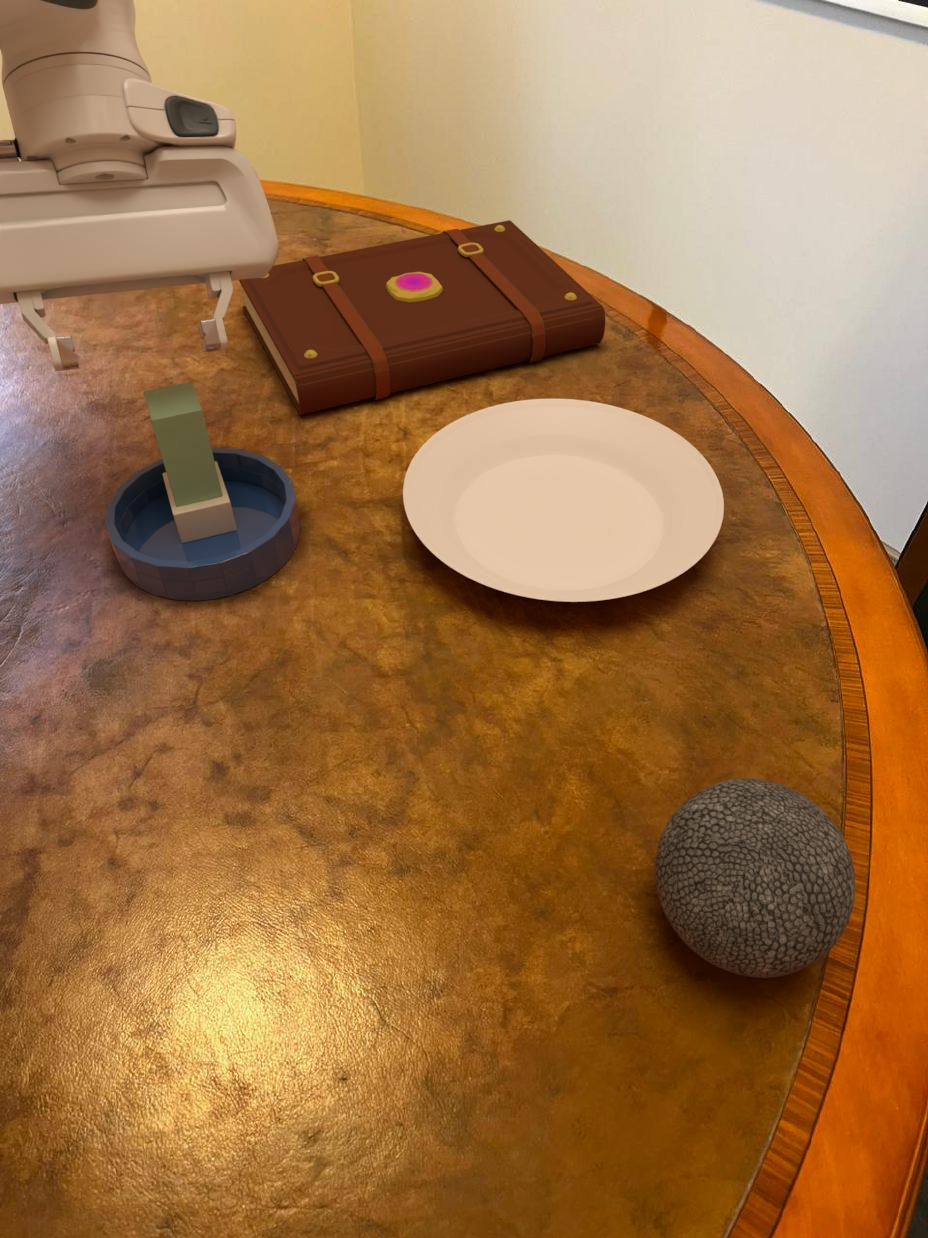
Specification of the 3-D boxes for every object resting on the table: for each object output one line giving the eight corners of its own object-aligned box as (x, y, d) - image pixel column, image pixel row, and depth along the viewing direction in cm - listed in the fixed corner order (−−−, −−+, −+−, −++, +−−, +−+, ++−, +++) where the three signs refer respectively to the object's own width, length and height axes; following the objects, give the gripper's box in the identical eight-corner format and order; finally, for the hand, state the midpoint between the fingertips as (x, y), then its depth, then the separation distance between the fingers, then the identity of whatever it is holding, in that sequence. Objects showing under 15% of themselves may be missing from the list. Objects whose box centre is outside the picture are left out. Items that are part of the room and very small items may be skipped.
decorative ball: (700, 810, 57) (733, 710, 50) (854, 908, 53) (916, 814, 45) (608, 928, 52) (631, 836, 45) (771, 1049, 47) (826, 968, 40)
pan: (150, 627, 68) (138, 593, 65) (96, 517, 76) (83, 483, 74) (329, 558, 73) (324, 524, 70) (260, 462, 81) (253, 428, 79)
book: (242, 309, 100) (234, 264, 96) (507, 255, 108) (509, 212, 105) (303, 422, 86) (296, 374, 82) (603, 349, 94) (609, 303, 90)
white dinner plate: (524, 688, 64) (527, 654, 61) (350, 495, 78) (345, 461, 76) (781, 551, 73) (793, 516, 71) (583, 402, 88) (587, 368, 85)
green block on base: (181, 544, 73) (146, 427, 65) (170, 501, 77) (136, 386, 69) (237, 530, 74) (209, 414, 66) (223, 489, 78) (195, 374, 70)
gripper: (-104, 122, 52) (-38, 371, 54) (256, 108, 59) (303, 329, 61) (-84, 165, 58) (-26, 389, 60) (242, 148, 65) (284, 348, 67)
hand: (143, 358), depth 60 cm, fingers open, 8 cm apart
